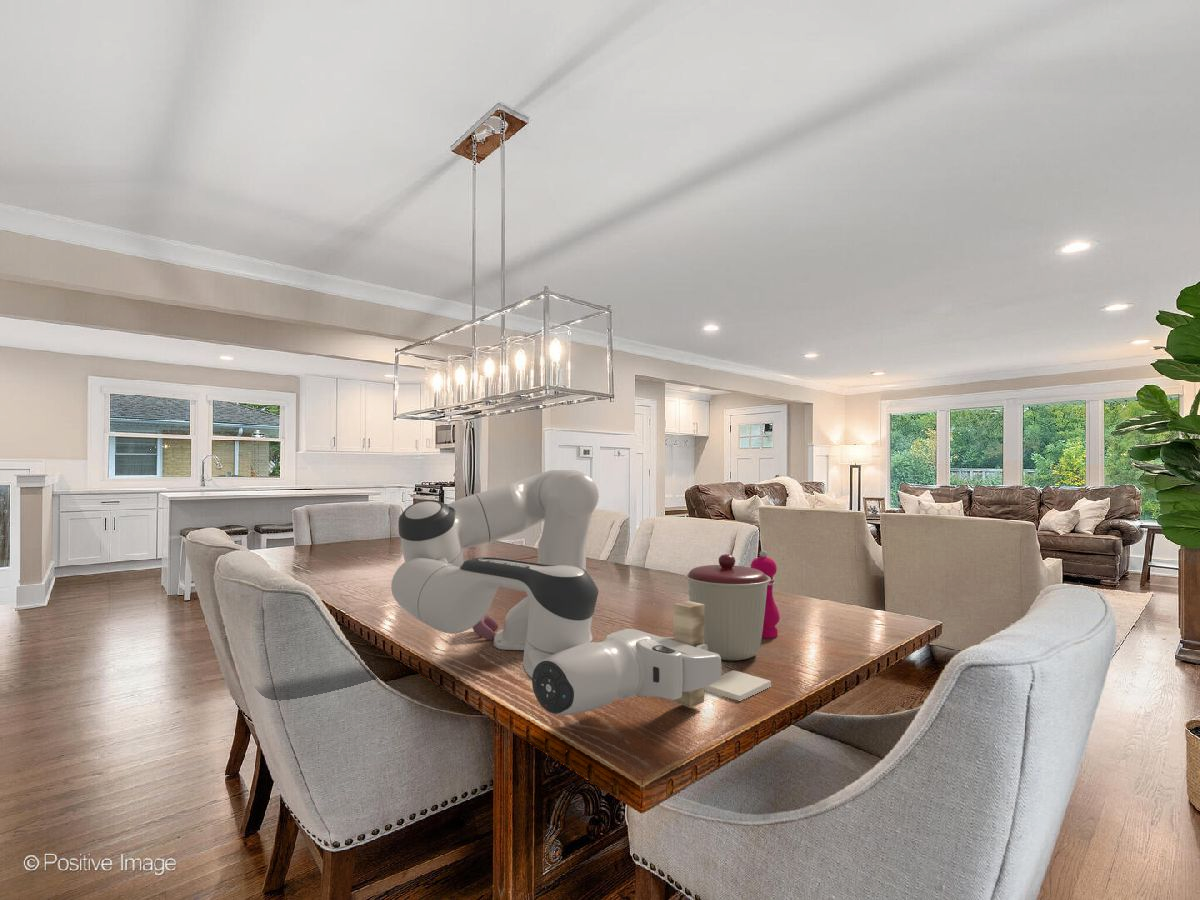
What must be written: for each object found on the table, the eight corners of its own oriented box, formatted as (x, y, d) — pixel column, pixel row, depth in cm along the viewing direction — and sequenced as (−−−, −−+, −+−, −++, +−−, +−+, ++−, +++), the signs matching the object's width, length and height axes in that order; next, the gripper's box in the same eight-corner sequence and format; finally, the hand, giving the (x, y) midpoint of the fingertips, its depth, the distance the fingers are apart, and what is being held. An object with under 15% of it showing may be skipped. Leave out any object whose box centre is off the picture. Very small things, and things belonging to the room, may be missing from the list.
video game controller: (483, 635, 145) (470, 610, 145) (500, 627, 145) (487, 601, 145) (478, 648, 135) (464, 620, 135) (496, 638, 135) (482, 611, 135)
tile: (739, 695, 100) (770, 680, 107) (701, 683, 106) (733, 670, 113) (740, 705, 100) (771, 689, 107) (701, 692, 106) (733, 678, 113)
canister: (715, 636, 139) (715, 546, 140) (787, 653, 126) (786, 554, 127) (667, 653, 127) (667, 554, 127) (740, 674, 114) (740, 564, 114)
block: (689, 707, 95) (690, 607, 96) (673, 701, 98) (673, 603, 98) (704, 702, 98) (704, 604, 98) (687, 695, 100) (687, 600, 101)
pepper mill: (776, 631, 144) (776, 548, 144) (782, 639, 137) (782, 552, 137) (746, 630, 145) (745, 548, 145) (750, 638, 137) (750, 552, 138)
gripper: (588, 666, 97) (647, 649, 106) (683, 704, 82) (743, 680, 91) (588, 627, 97) (647, 614, 107) (683, 658, 82) (743, 639, 91)
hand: (692, 645), depth 99 cm, fingers closed on block, 4 cm apart
